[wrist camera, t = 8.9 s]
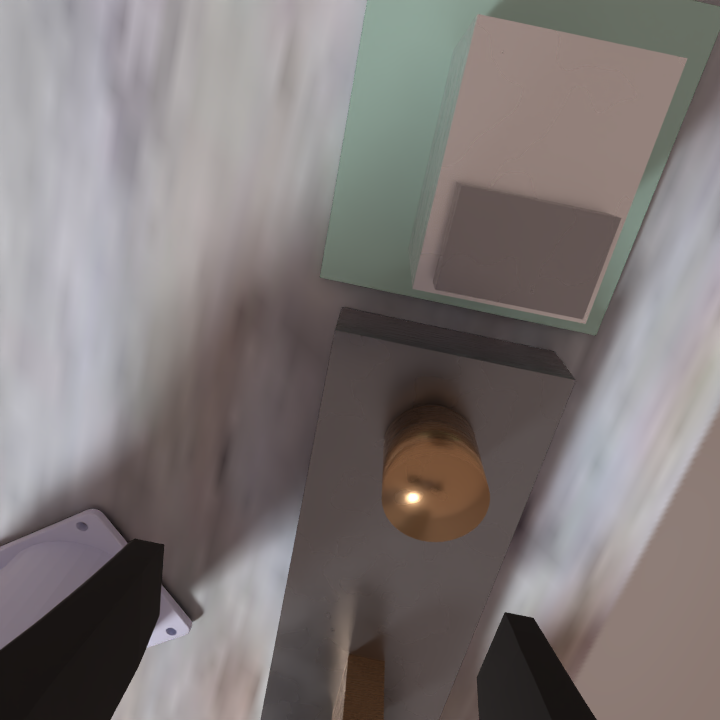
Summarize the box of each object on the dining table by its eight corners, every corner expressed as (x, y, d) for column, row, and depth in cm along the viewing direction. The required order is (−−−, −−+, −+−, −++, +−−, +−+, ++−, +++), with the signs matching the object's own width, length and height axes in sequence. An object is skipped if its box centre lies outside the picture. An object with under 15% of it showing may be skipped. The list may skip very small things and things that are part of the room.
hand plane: (423, 700, 27) (431, 857, 21) (271, 670, 27) (237, 821, 21) (554, 351, 19) (625, 446, 13) (342, 307, 19) (318, 383, 13)
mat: (592, 331, 19) (596, 335, 19) (321, 274, 19) (319, 277, 18) (720, 11, 15) (728, 8, 15) (379, -66, 15) (379, -71, 15)
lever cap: (537, 276, 18) (596, 334, 13) (408, 250, 18) (413, 297, 13) (601, 81, 16) (708, 53, 10) (453, 50, 16) (483, 5, 10)
